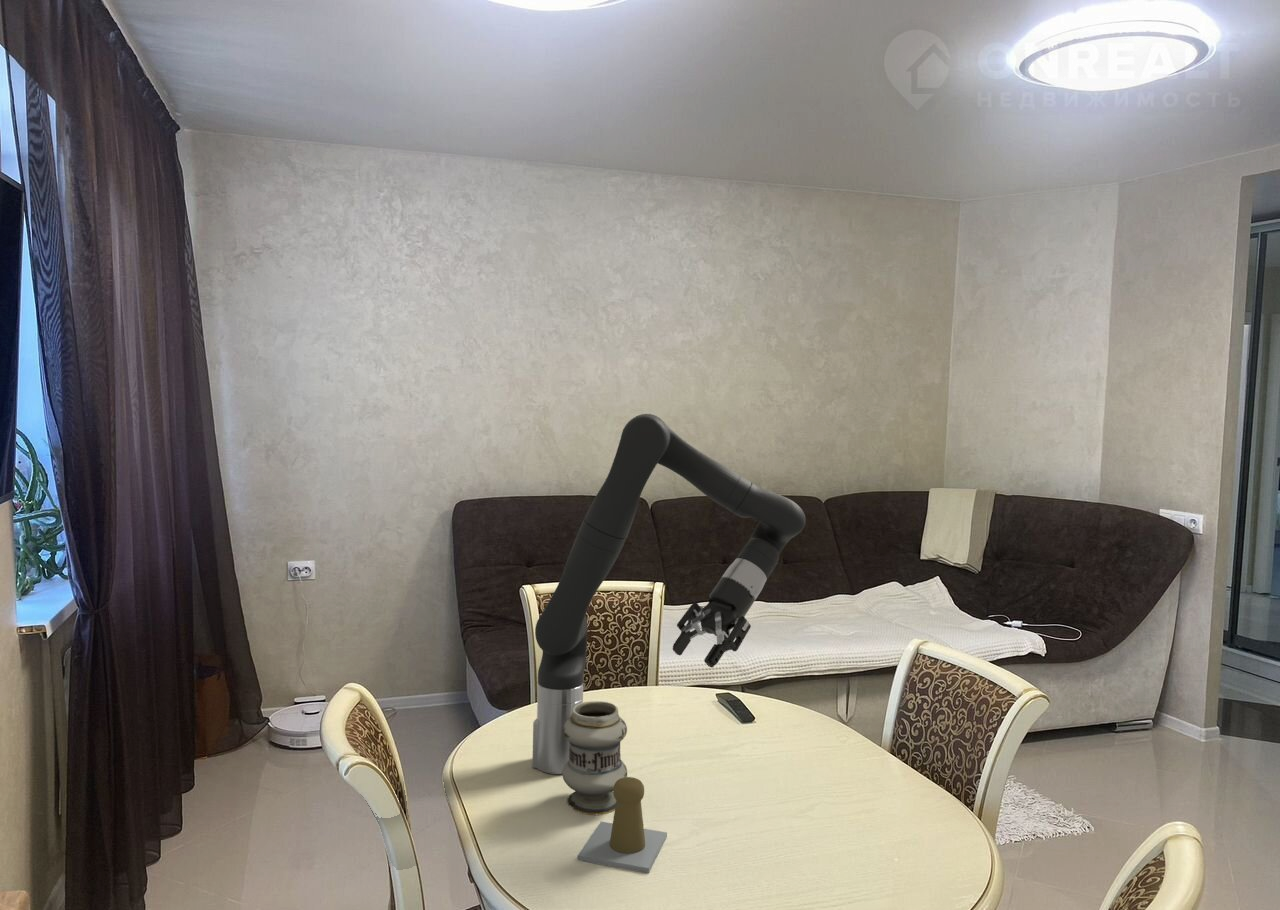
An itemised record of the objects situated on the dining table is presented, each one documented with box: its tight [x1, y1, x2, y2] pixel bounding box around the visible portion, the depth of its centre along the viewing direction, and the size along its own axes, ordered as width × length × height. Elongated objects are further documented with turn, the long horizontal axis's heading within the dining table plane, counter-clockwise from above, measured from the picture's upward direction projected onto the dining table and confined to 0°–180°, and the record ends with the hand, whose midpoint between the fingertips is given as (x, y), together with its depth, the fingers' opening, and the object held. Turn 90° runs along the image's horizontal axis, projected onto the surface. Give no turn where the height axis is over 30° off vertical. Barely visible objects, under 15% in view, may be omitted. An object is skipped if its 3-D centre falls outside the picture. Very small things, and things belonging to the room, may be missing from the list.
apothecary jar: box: [561, 700, 628, 816], centre depth 162 cm, size 12×12×18 cm
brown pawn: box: [610, 776, 645, 854], centre depth 146 cm, size 6×6×11 cm
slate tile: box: [577, 821, 668, 874], centre depth 147 cm, size 12×12×1 cm
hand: (691, 658), depth 158 cm, fingers open, 8 cm apart
